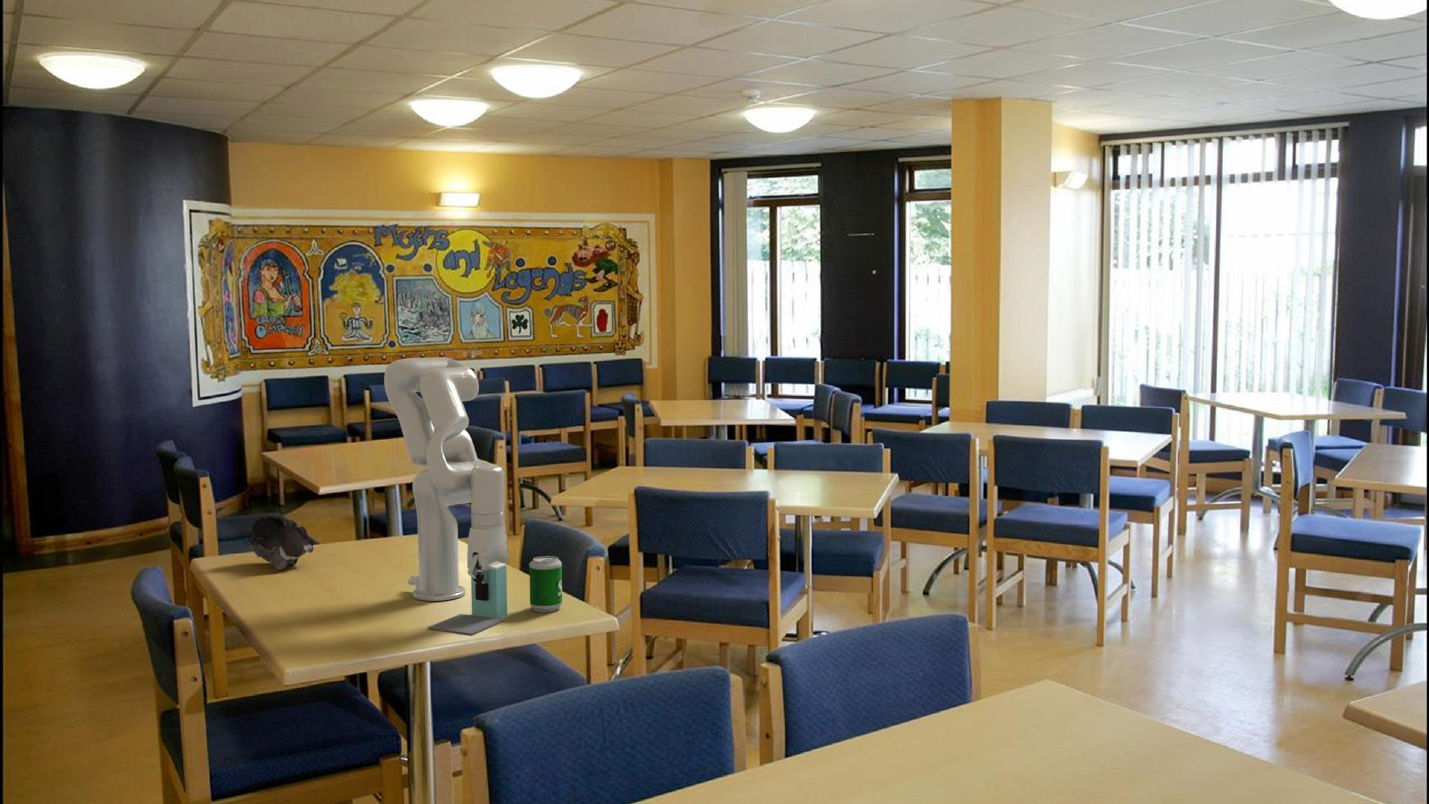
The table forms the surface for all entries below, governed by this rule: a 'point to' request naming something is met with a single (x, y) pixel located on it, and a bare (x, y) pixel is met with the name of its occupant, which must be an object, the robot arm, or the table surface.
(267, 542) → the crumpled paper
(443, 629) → the rubber mat
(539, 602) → the soda can
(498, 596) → the teal block
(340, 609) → the table surface
